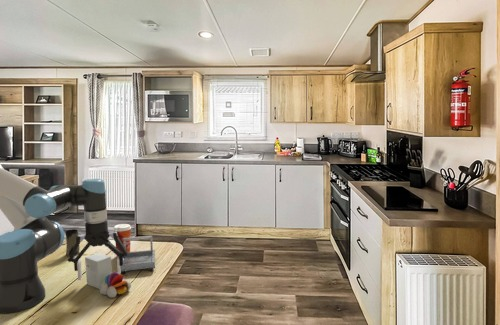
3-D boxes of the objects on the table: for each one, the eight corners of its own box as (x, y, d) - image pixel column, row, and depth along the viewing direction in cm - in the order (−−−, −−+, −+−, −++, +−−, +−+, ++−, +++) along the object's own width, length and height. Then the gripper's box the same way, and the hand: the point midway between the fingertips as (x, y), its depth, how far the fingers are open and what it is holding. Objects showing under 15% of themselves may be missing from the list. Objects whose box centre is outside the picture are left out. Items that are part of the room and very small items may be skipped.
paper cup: (126, 259, 151) (125, 228, 149) (111, 258, 152) (109, 227, 151) (135, 253, 158) (134, 223, 157) (120, 251, 160) (119, 222, 158)
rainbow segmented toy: (114, 301, 115) (113, 281, 114) (96, 294, 120) (95, 274, 119) (134, 291, 122) (133, 271, 121) (117, 284, 127) (116, 266, 126)
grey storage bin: (118, 275, 135) (117, 249, 134) (122, 261, 148) (121, 238, 147) (154, 271, 139) (154, 246, 137) (155, 258, 152) (154, 235, 151)
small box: (112, 283, 128) (111, 256, 127) (99, 289, 123) (97, 261, 122) (99, 278, 132) (98, 252, 131) (86, 284, 127) (84, 257, 126)
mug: (80, 251, 161) (78, 226, 160) (79, 255, 156) (78, 229, 154) (61, 253, 158) (59, 228, 156) (59, 257, 153) (58, 232, 151)
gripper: (55, 227, 118) (60, 285, 121) (131, 220, 125) (134, 276, 127) (61, 221, 125) (66, 276, 128) (132, 215, 132) (135, 268, 134)
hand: (100, 276), depth 127 cm, fingers open, 13 cm apart
